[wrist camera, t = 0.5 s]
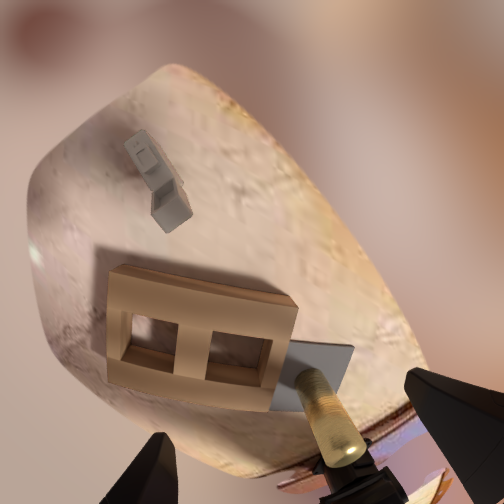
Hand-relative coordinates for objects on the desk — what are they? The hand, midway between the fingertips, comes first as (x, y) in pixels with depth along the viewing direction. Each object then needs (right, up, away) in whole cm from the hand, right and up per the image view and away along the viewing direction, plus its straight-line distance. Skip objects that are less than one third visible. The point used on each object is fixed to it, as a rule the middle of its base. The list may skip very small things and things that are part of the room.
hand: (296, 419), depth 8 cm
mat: (+4, -7, +16) cm, 17 cm away
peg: (+4, -7, +15) cm, 17 cm away
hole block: (-6, -2, +14) cm, 16 cm away
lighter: (-8, +11, +13) cm, 18 cm away
